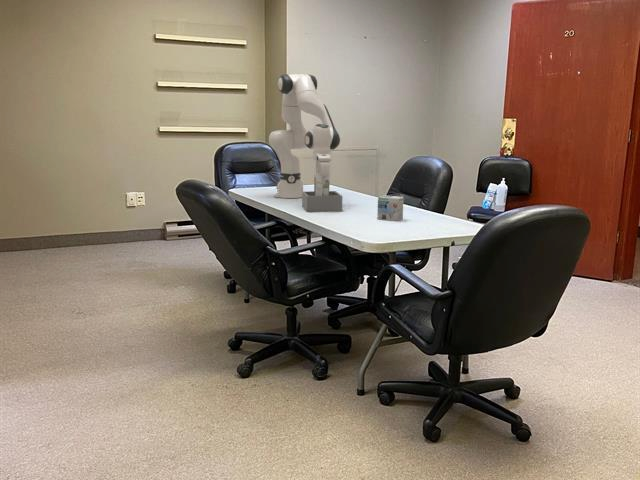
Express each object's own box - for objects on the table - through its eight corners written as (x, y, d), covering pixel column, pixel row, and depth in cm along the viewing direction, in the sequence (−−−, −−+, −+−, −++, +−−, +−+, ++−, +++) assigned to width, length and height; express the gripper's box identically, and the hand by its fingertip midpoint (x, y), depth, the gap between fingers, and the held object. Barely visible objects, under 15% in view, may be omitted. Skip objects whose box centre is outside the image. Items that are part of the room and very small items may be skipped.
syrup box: (320, 196, 310) (321, 169, 307) (329, 197, 306) (329, 169, 303) (313, 197, 306) (313, 169, 303) (322, 199, 302) (322, 170, 299)
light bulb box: (376, 219, 278) (377, 196, 276) (382, 217, 284) (382, 195, 282) (398, 221, 273) (399, 198, 271) (403, 219, 279) (404, 196, 277)
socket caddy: (302, 206, 314) (302, 191, 313) (335, 205, 317) (335, 191, 316) (306, 212, 297) (307, 196, 295) (342, 211, 300) (342, 195, 298)
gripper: (312, 155, 311) (312, 181, 314) (319, 158, 291) (318, 186, 294) (324, 155, 312) (324, 181, 315) (331, 158, 292) (331, 185, 295)
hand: (321, 183), depth 304 cm, fingers closed on syrup box, 8 cm apart
